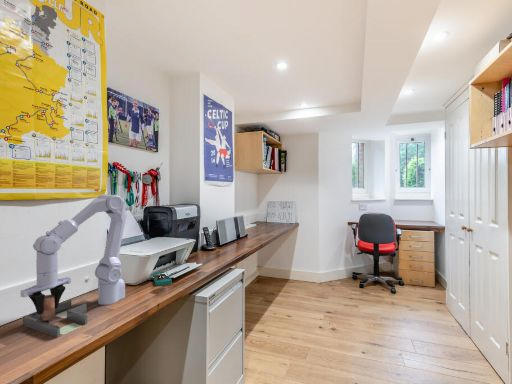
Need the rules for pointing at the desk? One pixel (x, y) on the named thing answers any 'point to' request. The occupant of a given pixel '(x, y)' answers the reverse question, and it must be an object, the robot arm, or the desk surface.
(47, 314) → the peg
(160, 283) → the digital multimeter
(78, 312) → the rails
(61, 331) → the board
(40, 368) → the desk surface
